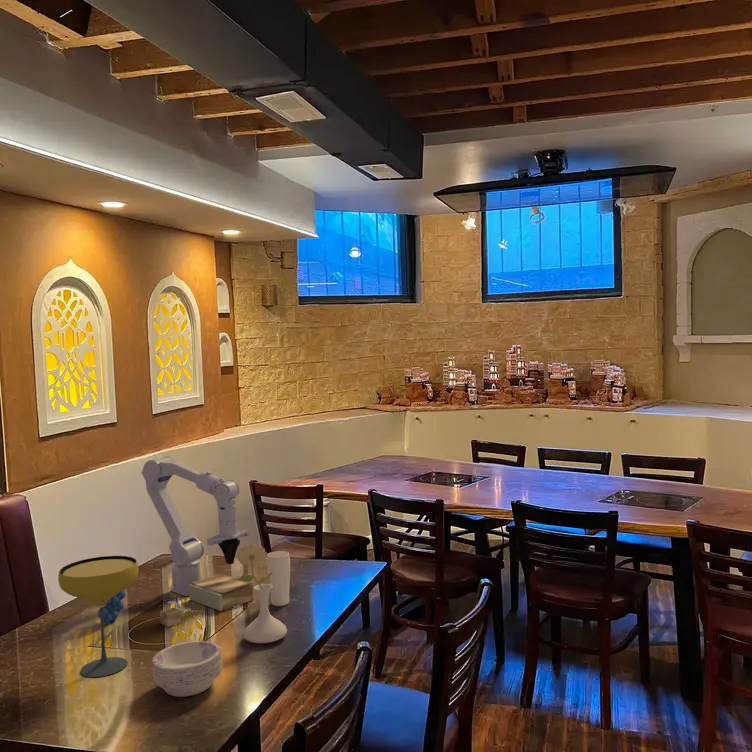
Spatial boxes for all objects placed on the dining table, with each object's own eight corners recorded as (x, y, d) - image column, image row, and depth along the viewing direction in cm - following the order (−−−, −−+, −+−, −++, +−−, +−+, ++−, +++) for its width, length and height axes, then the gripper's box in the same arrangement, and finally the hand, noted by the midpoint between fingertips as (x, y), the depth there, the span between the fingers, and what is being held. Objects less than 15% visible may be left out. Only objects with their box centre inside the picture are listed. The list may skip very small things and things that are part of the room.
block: (160, 623, 204) (160, 611, 204) (173, 619, 207) (172, 607, 207) (168, 627, 201) (167, 614, 201) (180, 622, 204) (180, 610, 204)
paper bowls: (141, 689, 164) (139, 654, 163) (200, 667, 174) (199, 634, 174) (175, 711, 153) (173, 674, 152) (236, 686, 163) (234, 651, 163)
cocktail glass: (48, 684, 168) (42, 577, 168) (89, 651, 186) (83, 555, 186) (121, 685, 166) (115, 577, 165) (155, 652, 184) (150, 555, 183)
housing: (191, 599, 224) (191, 582, 223) (221, 589, 232) (220, 573, 231) (223, 610, 212) (222, 593, 212) (253, 600, 220) (252, 583, 220)
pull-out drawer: (189, 599, 223) (188, 584, 223) (217, 590, 231) (217, 576, 230) (220, 610, 212) (219, 595, 212) (249, 600, 219) (248, 585, 219)
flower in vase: (294, 631, 194) (289, 539, 193) (276, 649, 183) (272, 551, 182) (249, 628, 197) (244, 537, 197) (230, 645, 186) (225, 549, 186)
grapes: (111, 613, 214) (109, 573, 214) (132, 614, 212) (129, 574, 212) (86, 628, 203) (84, 586, 203) (107, 629, 201) (105, 587, 201)
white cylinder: (281, 598, 221) (278, 549, 221) (296, 602, 217) (294, 552, 216) (264, 604, 216) (261, 555, 215) (279, 609, 212) (277, 558, 211)
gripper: (215, 526, 218) (217, 571, 218) (254, 517, 228) (256, 559, 229) (202, 523, 222) (204, 567, 223) (241, 514, 233) (243, 556, 233)
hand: (230, 563), depth 226 cm, fingers closed
